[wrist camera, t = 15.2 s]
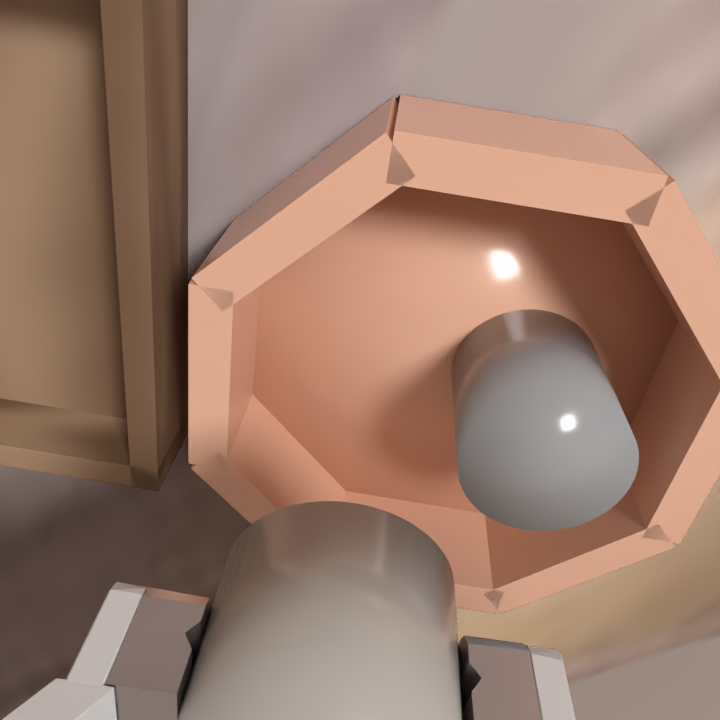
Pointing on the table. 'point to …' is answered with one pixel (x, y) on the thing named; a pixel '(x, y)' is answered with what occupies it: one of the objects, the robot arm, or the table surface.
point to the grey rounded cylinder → (538, 423)
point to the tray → (94, 237)
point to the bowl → (454, 331)
